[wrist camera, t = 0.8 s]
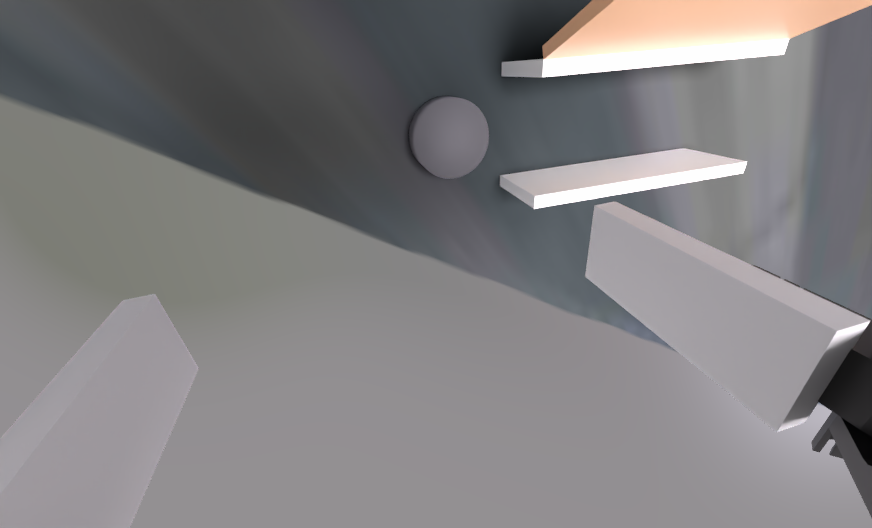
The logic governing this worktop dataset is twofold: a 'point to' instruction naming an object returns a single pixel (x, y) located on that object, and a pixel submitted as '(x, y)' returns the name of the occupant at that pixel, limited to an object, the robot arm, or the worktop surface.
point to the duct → (630, 170)
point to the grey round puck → (449, 136)
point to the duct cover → (688, 24)
